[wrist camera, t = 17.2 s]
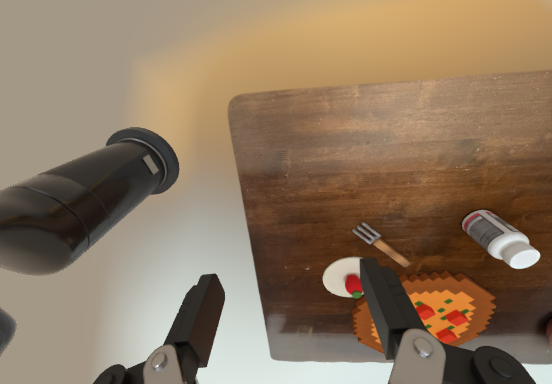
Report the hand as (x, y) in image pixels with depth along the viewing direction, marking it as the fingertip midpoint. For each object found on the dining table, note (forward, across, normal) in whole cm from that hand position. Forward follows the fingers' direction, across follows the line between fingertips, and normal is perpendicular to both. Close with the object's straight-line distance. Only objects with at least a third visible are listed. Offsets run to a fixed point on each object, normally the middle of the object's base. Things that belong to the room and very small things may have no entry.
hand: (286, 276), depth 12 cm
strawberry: (+27, -9, +34) cm, 44 cm away
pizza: (+27, -25, +51) cm, 63 cm away
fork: (+27, -16, +25) cm, 40 cm away
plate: (+27, -9, +34) cm, 44 cm away
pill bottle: (+27, -33, +22) cm, 48 cm away
